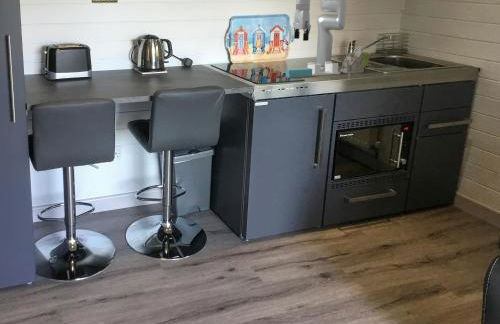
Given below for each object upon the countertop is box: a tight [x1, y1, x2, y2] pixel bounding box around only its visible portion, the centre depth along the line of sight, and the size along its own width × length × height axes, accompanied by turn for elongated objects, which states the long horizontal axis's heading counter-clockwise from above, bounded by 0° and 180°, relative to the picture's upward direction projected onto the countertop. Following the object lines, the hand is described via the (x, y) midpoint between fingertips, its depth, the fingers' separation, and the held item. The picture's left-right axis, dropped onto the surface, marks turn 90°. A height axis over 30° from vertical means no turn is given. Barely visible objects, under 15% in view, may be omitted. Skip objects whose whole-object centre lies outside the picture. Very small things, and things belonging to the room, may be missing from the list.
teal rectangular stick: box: [285, 67, 313, 79], centre depth 326 cm, size 4×15×4 cm, turn 116°
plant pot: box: [362, 51, 372, 68], centre depth 364 cm, size 9×9×9 cm
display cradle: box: [307, 60, 341, 76], centre depth 338 cm, size 10×18×6 cm, turn 116°
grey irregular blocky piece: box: [339, 46, 365, 74], centre depth 347 cm, size 16×16×15 cm
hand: (301, 39), depth 320 cm, fingers open, 9 cm apart
